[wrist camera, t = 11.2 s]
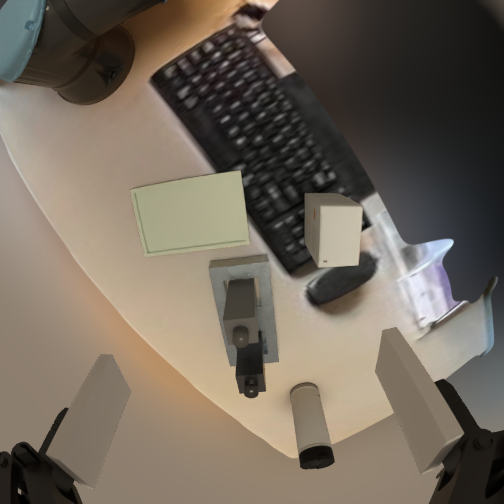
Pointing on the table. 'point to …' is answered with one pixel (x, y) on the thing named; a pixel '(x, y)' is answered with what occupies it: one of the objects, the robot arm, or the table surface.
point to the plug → (241, 313)
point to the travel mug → (310, 427)
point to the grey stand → (265, 350)
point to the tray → (191, 214)
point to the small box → (333, 229)
